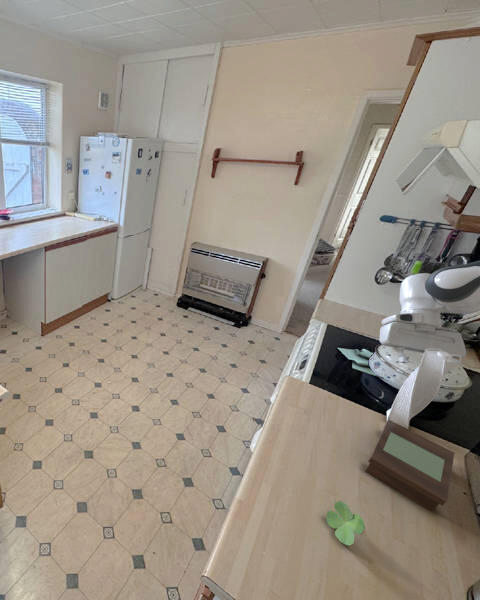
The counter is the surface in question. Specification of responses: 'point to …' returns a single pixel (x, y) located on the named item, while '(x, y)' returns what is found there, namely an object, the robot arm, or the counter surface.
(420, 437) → the wooden jewelry box
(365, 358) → the cloth
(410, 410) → the white twisted piece
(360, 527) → the seedling
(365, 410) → the counter surface
